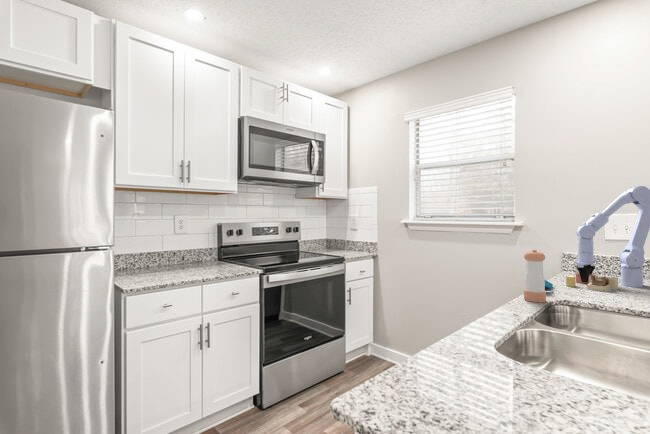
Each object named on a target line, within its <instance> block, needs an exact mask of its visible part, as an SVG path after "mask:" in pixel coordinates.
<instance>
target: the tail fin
mask: <svg viewBox="0 0 650 434" xmlns="http://www.w3.org/2000/svg"><path fill="white" fill-rule="evenodd" d="M565 279H566V280H565V282H566V283H565V284H566V285H565V286H566V287H569V288H571V287H572V288H575V287H576V275H575V276H574V275H568V276H566V278H565Z"/></svg>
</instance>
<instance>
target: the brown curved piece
mask: <svg viewBox="0 0 650 434" xmlns="http://www.w3.org/2000/svg"><path fill="white" fill-rule="evenodd" d="M595 275H596V274H594V275H593V276H591V280H592V285H597V286H606V285H609V282H608V278H610V277H607V276H605V275H604V276H598V278H596V279H595Z"/></svg>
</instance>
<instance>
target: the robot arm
mask: <svg viewBox="0 0 650 434" xmlns="http://www.w3.org/2000/svg"><path fill="white" fill-rule="evenodd" d="M631 203H632V204H634V205H635V207H637V209H638V214H637V216H636V220H635V223H634V225H633V228H632V232H631V233H630V238H629V240H628V243H627V245H625V247H624V248H623V251H621V253H620V254H619V256H618V261H619V262H620V263H621V264H620V286H622V287H628V288H643V286H644V271H643V265H644V263H645V248H644V246H645V244H646V241H647V238H648V235H649V232H650V189H649V187H647V186H645V185H644V186H643V185H639V186H636V187H635V186H633V187H629V188H627V189H626V190H625V191H623V192H621V193H620V194H619V196H617V197H616V198H615V199H614V200H613V201H612V202H611V203H610V204H609V205H607V206H606V208H605V209H604V210H602V211H601V212H596V213H592V215H590V218H589V219H588V220H587V221H585V222H583V223H582V226H579V227H578V228H577V229H576V231H575V234H576V235H577V260H575V261H574V263H577V265H576V267H575V268H576V270H577V271H578V272H577V273H579V274H580V277H581V281H582V282H586V283H587V282H588V279H589V274H593V272H594V271H595V269H596V265H594V264H595V261H594V237H595V235H596V233H597V232H598V231H599V230H601V229H602V228H603V227H604V226H605V225H606V224H608V223H609V219H610V217H611V216H612V215H613V214H615V213H616V212H617V211H618V210H619V209H621V207H623V206H625V205H627V204H628V205H629V204H631Z"/></svg>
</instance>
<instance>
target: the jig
mask: <svg viewBox="0 0 650 434" xmlns="http://www.w3.org/2000/svg"><path fill="white" fill-rule="evenodd" d="M594 275H595V279H596V278H599V275H597V274H594ZM592 276H593V275H592ZM608 282H609V285H606V286H597V285H592V280H591V276H589V284H586V285H587V287H585V288H583V290H589V291H598V292H605V293H611V292H613V291H617V290H618V289H620V287H619V277H613V276H610V277H609V278H608Z"/></svg>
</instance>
